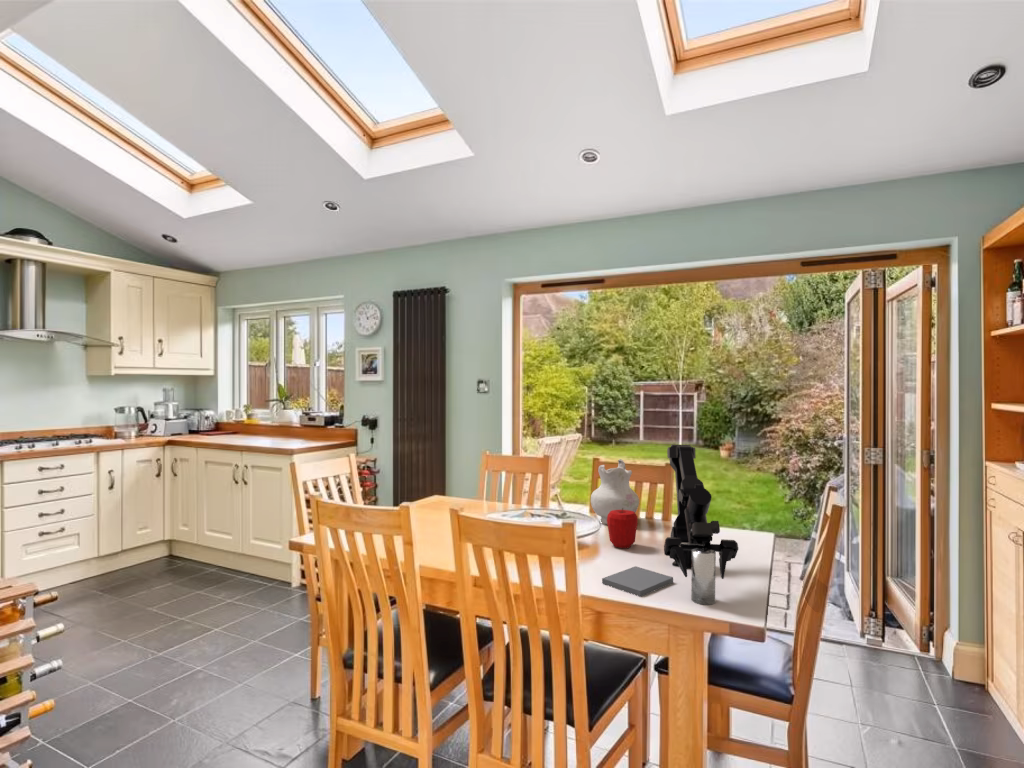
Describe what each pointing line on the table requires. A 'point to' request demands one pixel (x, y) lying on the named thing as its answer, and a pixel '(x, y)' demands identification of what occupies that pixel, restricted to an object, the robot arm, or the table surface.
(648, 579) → the base plate
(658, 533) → the table surface
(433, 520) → the table surface
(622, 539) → the apple
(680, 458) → the robot arm
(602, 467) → the ceramic pitcher
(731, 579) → the table surface
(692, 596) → the silver metal cylinder
